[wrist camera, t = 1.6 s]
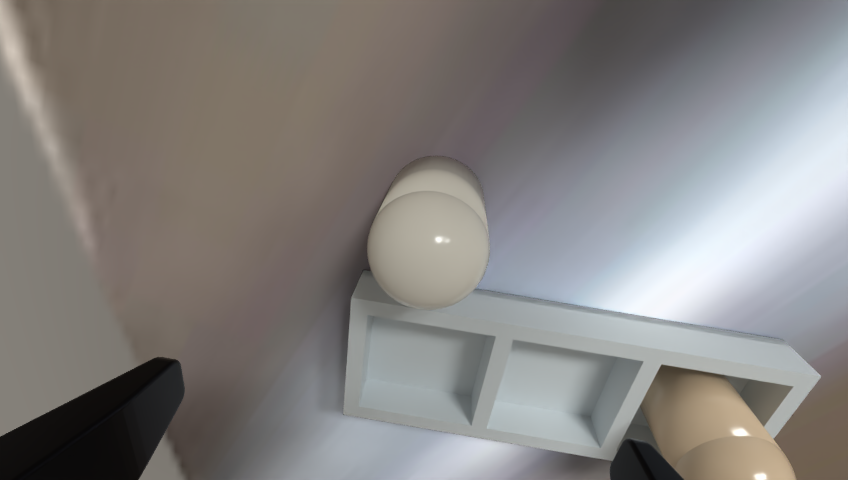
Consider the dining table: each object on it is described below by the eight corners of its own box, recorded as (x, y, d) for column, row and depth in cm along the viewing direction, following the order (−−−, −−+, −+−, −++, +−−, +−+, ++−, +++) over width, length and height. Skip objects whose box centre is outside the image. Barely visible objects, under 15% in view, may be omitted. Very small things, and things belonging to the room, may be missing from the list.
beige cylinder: (741, 365, 21) (854, 500, 15) (702, 425, 23) (788, 565, 17) (654, 350, 21) (731, 479, 15) (623, 411, 23) (680, 546, 17)
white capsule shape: (493, 164, 18) (507, 228, 12) (474, 252, 20) (478, 345, 14) (394, 148, 18) (358, 204, 12) (384, 237, 20) (349, 324, 14)
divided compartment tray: (782, 339, 21) (821, 376, 18) (714, 441, 24) (739, 482, 22) (363, 269, 21) (351, 297, 19) (354, 379, 24) (343, 414, 22)
